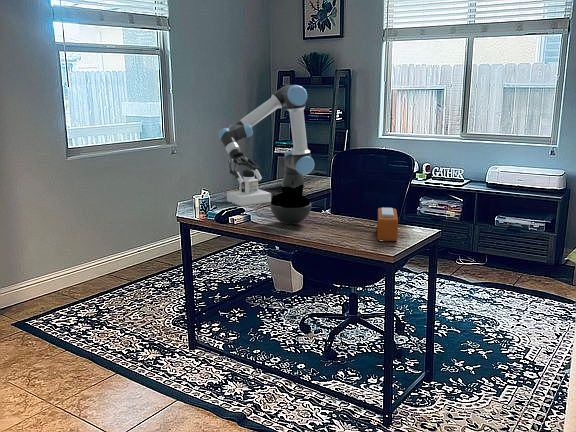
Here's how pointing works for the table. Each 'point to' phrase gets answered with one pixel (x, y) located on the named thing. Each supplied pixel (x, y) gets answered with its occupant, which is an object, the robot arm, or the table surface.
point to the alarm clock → (387, 224)
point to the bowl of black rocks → (290, 205)
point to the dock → (248, 197)
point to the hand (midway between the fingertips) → (251, 180)
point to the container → (249, 182)
